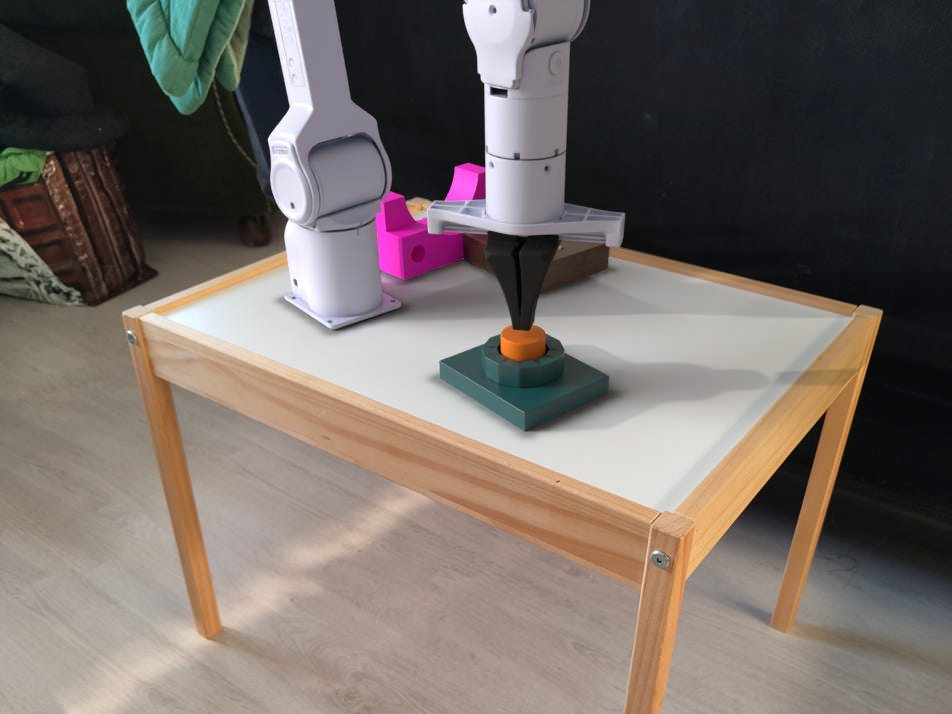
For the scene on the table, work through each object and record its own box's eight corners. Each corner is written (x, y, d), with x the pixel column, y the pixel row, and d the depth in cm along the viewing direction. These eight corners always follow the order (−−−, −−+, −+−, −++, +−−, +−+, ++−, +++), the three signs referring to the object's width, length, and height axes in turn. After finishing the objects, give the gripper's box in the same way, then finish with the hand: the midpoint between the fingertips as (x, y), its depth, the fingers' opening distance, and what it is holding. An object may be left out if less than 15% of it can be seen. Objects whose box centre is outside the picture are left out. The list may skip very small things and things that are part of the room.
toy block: (404, 280, 92) (399, 208, 88) (367, 264, 96) (360, 194, 92) (507, 242, 100) (507, 174, 96) (470, 228, 104) (468, 162, 100)
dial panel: (463, 260, 97) (462, 231, 95) (533, 238, 102) (533, 210, 100) (536, 295, 89) (537, 264, 87) (608, 269, 94) (610, 240, 92)
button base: (439, 378, 76) (437, 341, 74) (520, 346, 80) (521, 310, 78) (524, 432, 69) (525, 392, 66) (608, 394, 73) (611, 355, 71)
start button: (491, 351, 73) (491, 332, 72) (525, 338, 75) (525, 319, 74) (520, 367, 70) (520, 347, 69) (554, 354, 72) (555, 334, 71)
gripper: (634, 139, 65) (621, 312, 73) (442, 129, 68) (449, 296, 76) (623, 167, 59) (609, 351, 67) (414, 155, 62) (425, 333, 70)
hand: (523, 325), depth 71 cm, fingers closed
